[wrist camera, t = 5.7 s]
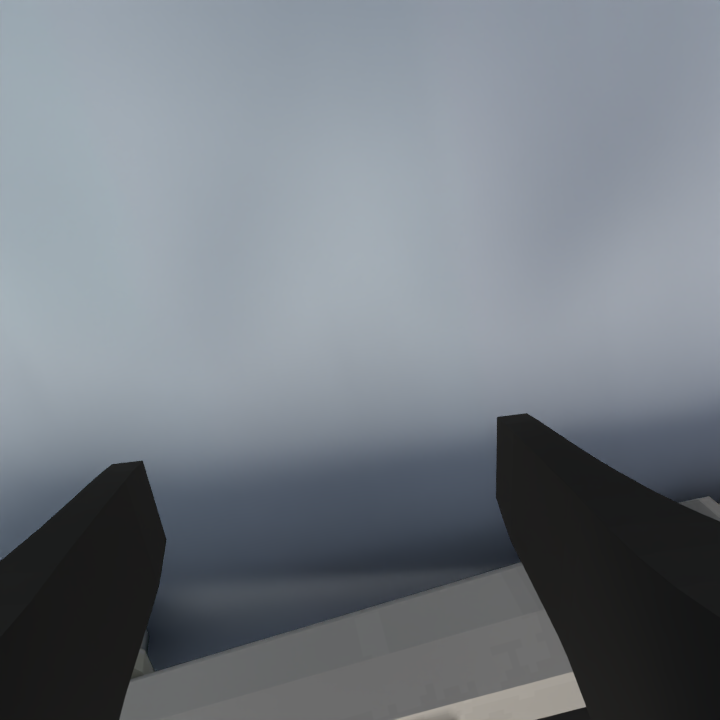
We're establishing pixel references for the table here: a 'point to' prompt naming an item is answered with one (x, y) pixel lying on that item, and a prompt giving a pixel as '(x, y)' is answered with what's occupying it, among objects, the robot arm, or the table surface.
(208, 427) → the table surface
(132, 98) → the table surface
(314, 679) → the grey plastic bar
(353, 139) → the table surface
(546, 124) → the table surface
